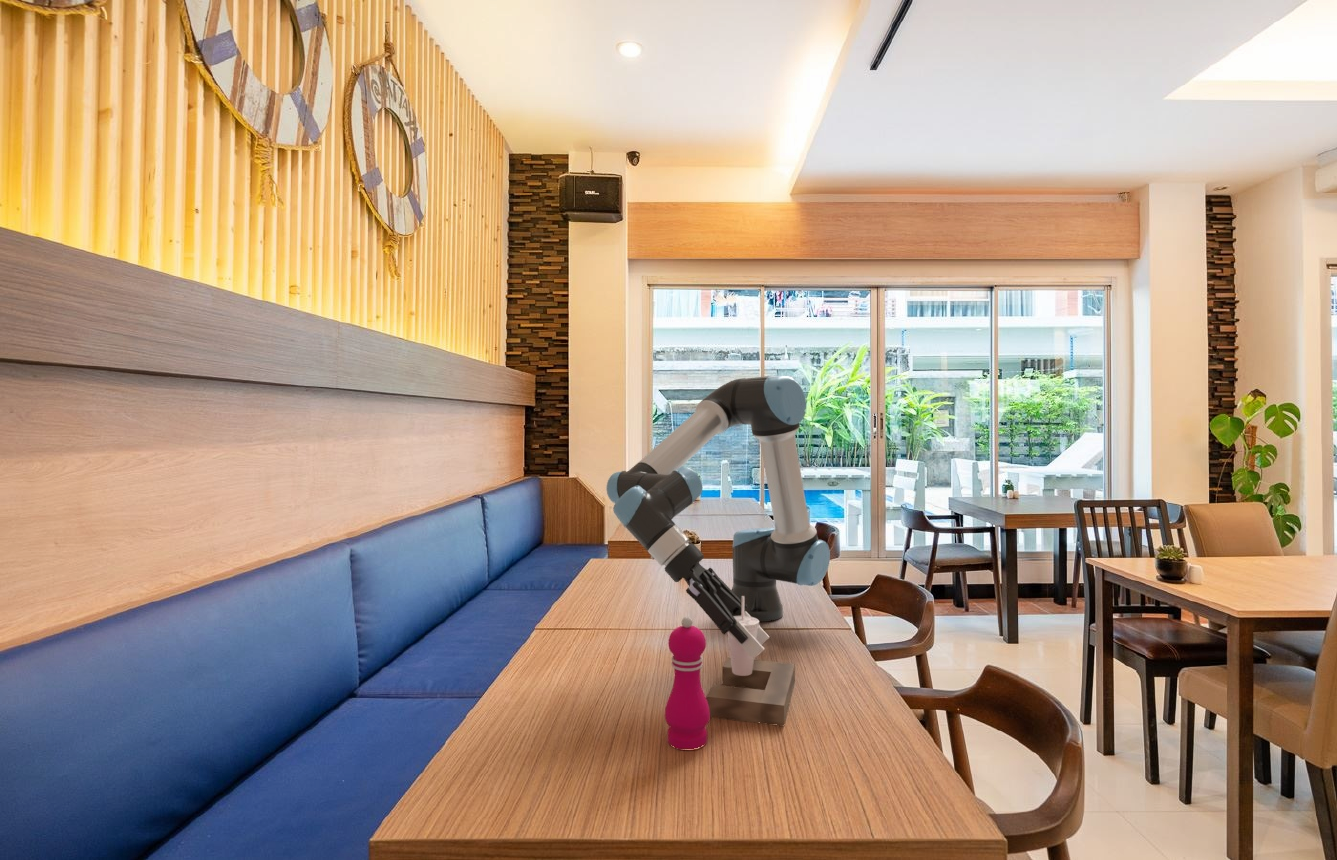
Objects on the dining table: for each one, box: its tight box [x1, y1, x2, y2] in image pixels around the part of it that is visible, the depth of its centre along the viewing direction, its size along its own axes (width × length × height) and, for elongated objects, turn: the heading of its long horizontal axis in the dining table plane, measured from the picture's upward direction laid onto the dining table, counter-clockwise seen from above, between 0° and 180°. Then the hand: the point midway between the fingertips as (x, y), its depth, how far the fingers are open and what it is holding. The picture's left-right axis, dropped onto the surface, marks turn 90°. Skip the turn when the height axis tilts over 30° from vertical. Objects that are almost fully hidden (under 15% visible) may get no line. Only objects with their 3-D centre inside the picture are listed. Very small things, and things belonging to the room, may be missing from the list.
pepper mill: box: [664, 616, 711, 750], centre depth 102 cm, size 7×7×20 cm
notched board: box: [705, 656, 796, 726], centre depth 119 cm, size 14×20×4 cm
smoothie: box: [727, 596, 761, 676], centre depth 119 cm, size 6×6×14 cm
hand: (761, 647), depth 118 cm, fingers closed on smoothie, 6 cm apart
